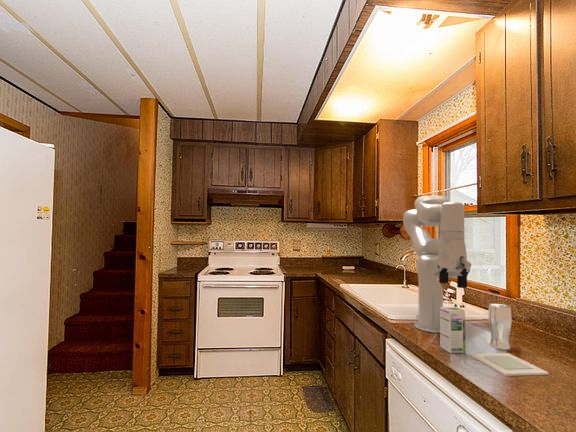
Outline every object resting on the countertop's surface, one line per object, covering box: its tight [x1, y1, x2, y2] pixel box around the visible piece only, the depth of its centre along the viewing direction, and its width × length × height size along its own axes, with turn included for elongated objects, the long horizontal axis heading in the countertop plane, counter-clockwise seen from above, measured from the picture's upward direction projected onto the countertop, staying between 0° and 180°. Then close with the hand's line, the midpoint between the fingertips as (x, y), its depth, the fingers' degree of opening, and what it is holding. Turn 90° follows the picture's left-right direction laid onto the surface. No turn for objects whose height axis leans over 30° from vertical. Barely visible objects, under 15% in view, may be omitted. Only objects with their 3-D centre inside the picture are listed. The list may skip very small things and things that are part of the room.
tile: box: [470, 352, 550, 377], centre depth 94 cm, size 14×14×1 cm
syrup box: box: [439, 306, 467, 354], centre depth 105 cm, size 6×6×14 cm
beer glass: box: [487, 302, 513, 351], centre depth 109 cm, size 7×7×15 cm
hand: (452, 285), depth 106 cm, fingers open, 9 cm apart
